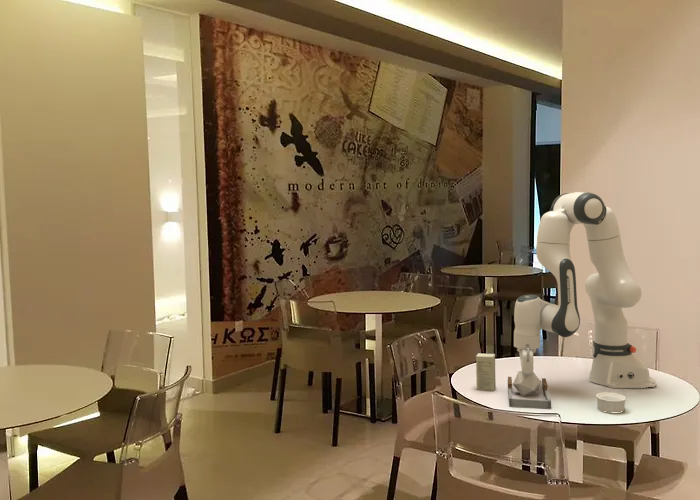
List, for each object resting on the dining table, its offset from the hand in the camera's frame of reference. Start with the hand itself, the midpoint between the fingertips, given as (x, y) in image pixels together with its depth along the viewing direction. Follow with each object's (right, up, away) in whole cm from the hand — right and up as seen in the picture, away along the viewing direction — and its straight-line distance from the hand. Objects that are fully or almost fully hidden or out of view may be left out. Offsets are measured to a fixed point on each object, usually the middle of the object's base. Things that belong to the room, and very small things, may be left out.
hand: (526, 380), depth 233 cm
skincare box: (-14, -3, +2) cm, 14 cm away
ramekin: (+21, -5, -21) cm, 30 cm away
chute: (-1, -4, -3) cm, 5 cm away
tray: (-3, -5, -13) cm, 14 cm away
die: (-1, -4, -5) cm, 6 cm away
